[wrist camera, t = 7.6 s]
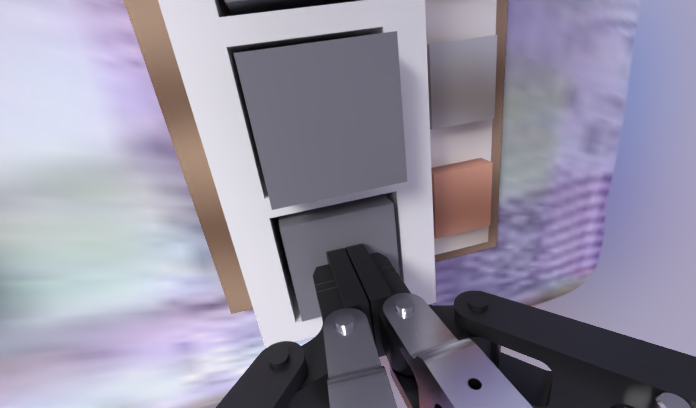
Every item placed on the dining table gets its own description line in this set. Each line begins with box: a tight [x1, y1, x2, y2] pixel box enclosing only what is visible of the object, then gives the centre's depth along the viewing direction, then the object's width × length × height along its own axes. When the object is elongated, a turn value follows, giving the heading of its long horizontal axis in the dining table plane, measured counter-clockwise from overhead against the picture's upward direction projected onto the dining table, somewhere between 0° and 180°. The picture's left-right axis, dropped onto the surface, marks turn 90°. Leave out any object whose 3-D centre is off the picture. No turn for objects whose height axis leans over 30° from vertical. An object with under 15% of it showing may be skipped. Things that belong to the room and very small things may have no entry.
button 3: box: [279, 194, 400, 322], centre depth 15 cm, size 4×4×4 cm
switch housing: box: [158, 0, 436, 349], centre depth 13 cm, size 19×8×4 cm, turn 8°
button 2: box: [234, 31, 407, 210], centre depth 12 cm, size 4×4×4 cm
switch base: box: [124, 0, 508, 314], centre depth 15 cm, size 20×16×2 cm
